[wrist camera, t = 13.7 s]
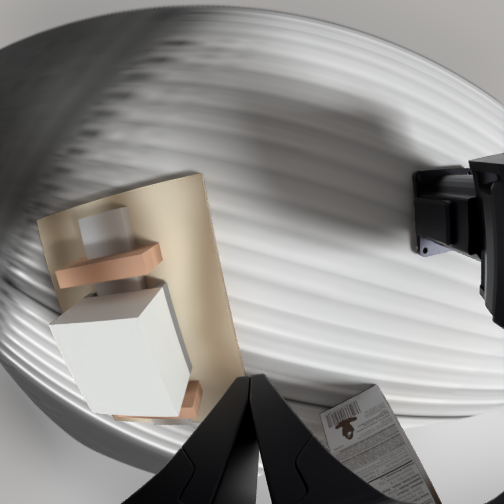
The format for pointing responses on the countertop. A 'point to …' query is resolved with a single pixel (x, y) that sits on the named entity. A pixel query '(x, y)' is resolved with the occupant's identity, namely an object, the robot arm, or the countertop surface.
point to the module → (126, 352)
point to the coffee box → (377, 447)
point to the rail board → (153, 274)
